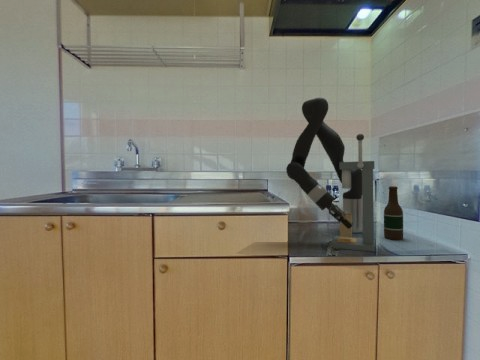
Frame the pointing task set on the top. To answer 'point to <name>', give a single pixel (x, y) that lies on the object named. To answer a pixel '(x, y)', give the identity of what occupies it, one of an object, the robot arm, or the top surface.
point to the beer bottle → (393, 217)
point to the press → (367, 203)
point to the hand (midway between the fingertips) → (350, 226)
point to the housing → (343, 229)
